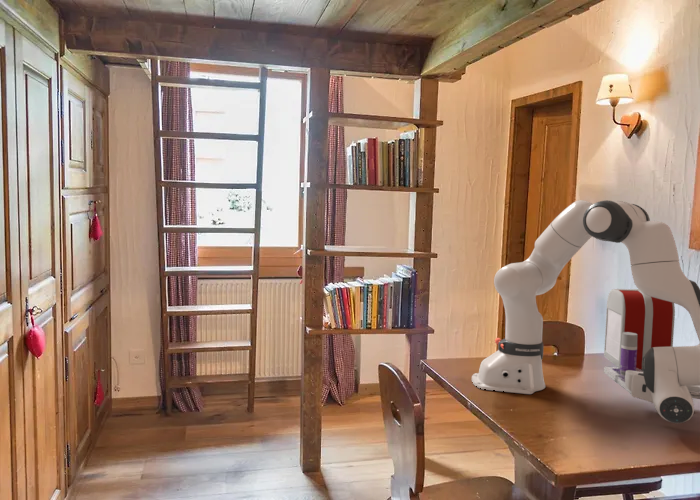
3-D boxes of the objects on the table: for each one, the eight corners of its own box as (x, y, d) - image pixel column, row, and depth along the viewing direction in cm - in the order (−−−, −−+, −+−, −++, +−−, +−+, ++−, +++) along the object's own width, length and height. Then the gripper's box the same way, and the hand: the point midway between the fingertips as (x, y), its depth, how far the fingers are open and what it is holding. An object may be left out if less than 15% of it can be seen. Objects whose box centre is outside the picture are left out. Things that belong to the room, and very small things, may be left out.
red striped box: (602, 355, 210) (606, 285, 208) (651, 357, 208) (656, 287, 206) (619, 368, 194) (623, 292, 191) (672, 371, 192) (677, 294, 190)
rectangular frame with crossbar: (667, 394, 167) (668, 388, 167) (630, 393, 168) (630, 386, 168) (637, 373, 188) (637, 367, 188) (603, 372, 189) (604, 366, 188)
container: (637, 380, 180) (639, 335, 179) (621, 379, 181) (624, 334, 180) (632, 376, 185) (635, 332, 183) (617, 375, 186) (620, 331, 184)
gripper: (715, 385, 142) (706, 370, 155) (627, 373, 150) (625, 360, 163) (713, 409, 143) (704, 392, 155) (625, 395, 151) (623, 381, 164)
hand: (663, 376), depth 159 cm, fingers closed on supplement bottle, 5 cm apart
